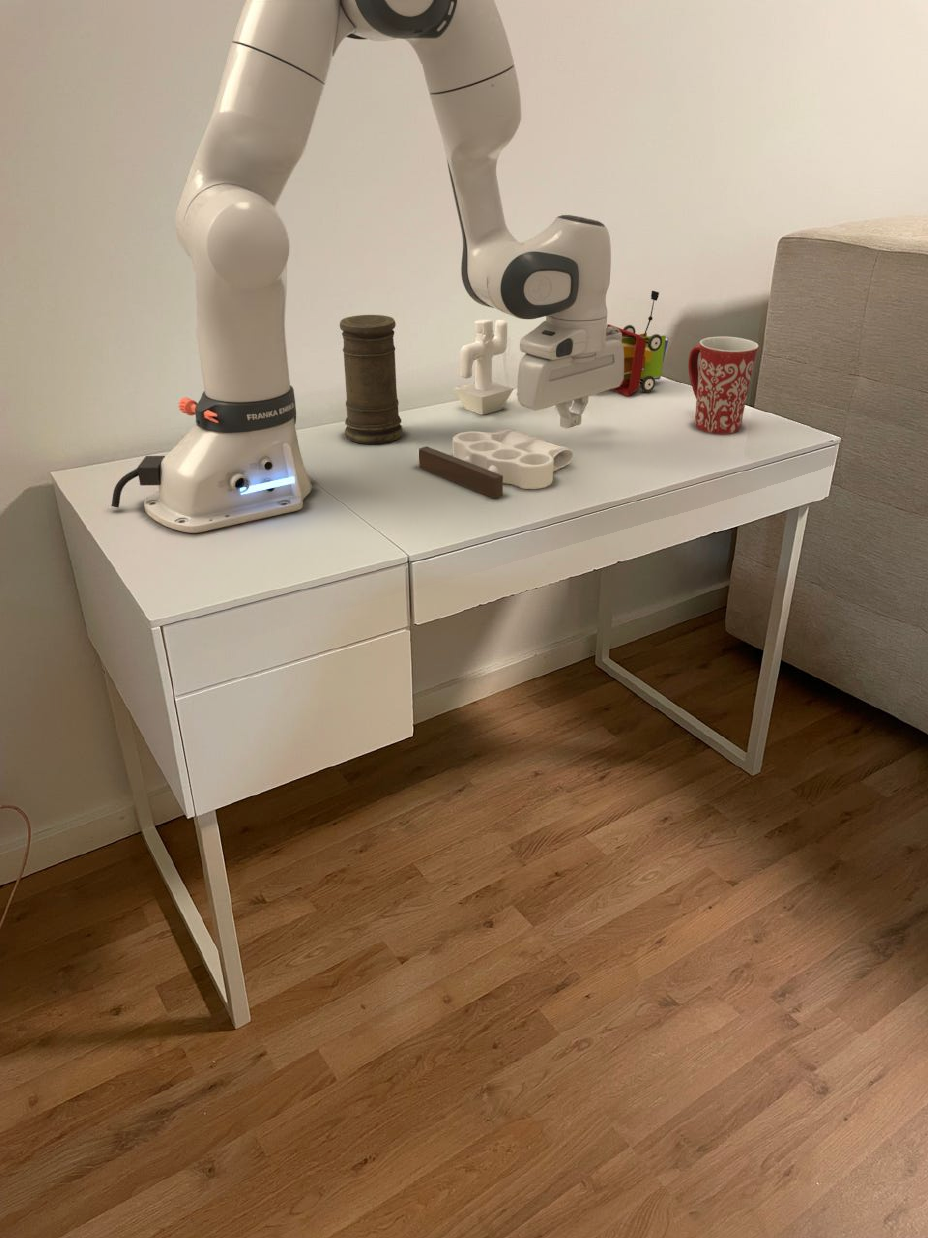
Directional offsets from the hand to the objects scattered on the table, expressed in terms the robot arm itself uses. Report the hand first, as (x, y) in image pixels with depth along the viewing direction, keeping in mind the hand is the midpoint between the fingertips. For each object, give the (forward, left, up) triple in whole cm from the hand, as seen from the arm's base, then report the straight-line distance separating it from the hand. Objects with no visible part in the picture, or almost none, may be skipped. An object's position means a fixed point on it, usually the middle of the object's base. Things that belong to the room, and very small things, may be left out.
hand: (570, 425), depth 149 cm
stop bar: (-23, 0, -3) cm, 23 cm away
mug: (+24, -9, -3) cm, 26 cm away
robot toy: (+28, +14, -3) cm, 32 cm away
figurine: (+2, +22, -3) cm, 22 cm away
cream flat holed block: (-14, -1, -3) cm, 14 cm away
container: (-20, +24, -3) cm, 31 cm away
